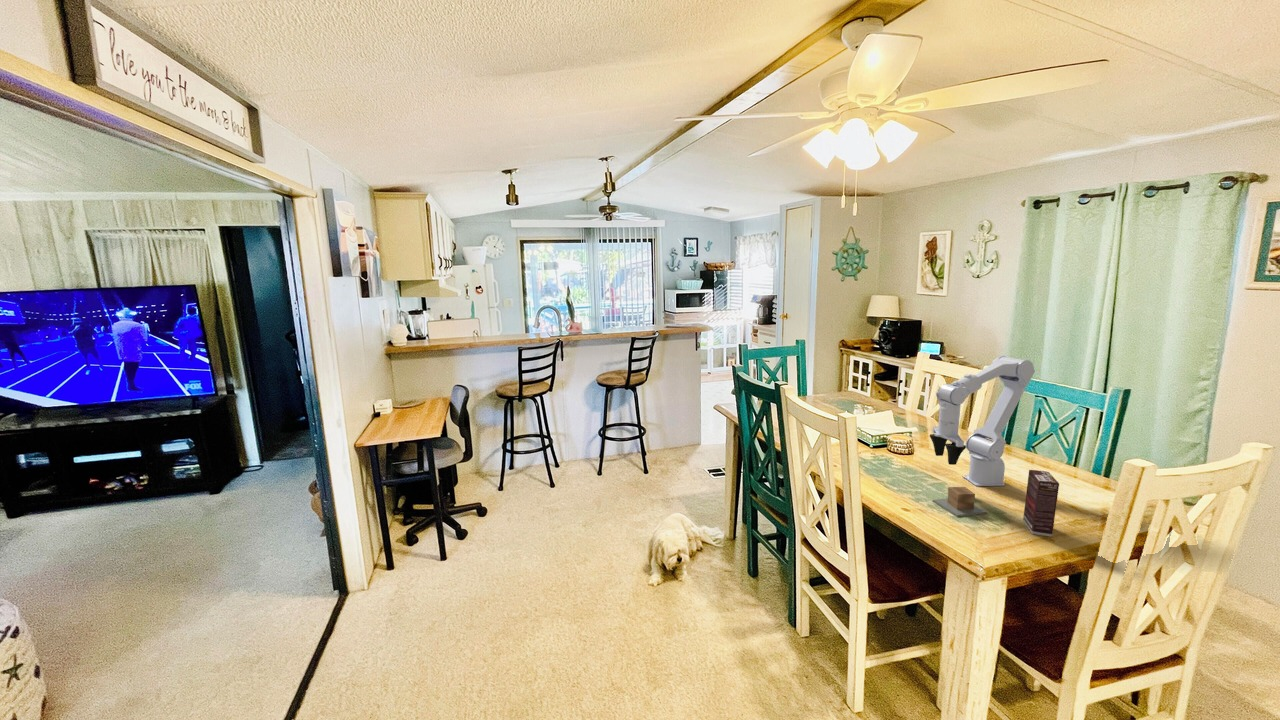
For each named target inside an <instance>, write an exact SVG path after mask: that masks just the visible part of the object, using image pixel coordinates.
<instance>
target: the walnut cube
mask: <svg viewBox="0 0 1280 720" xmlns="http://www.w3.org/2000/svg"><path fill="white" fill-rule="evenodd" d="M947 489H948V490H947V492H948V493H947V498H948V501H947V502H948V503H949V504H951V505H952V506H953V507H954V508H956V509H957V510H960V509H974V504H975V496H976V493H975V492H973V491H971V490H970V489H969V488H967V487H966V486H948V488H947Z"/></svg>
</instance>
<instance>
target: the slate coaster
mask: <svg viewBox="0 0 1280 720" xmlns="http://www.w3.org/2000/svg"><path fill="white" fill-rule="evenodd" d="M947 501H948V497H946V498H938V499H933V500H932V502H933V503H934V504H936V505H938V506H939V507H941V508H942V509H944V510H946V512H949V513H950V514H952V515H953V516H955V517H957V518H959V517H968V516H975V515H976V516H977V515H984V514H988V511H987V510H986V509H984V508H982V507H980V506H978V505H977V504H975V503H974V509H960V510H957V509H956V508H954V507H953V506H952V505H951V504H949V503H948V502H947Z"/></svg>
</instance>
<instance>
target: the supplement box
mask: <svg viewBox="0 0 1280 720" xmlns="http://www.w3.org/2000/svg"><path fill="white" fill-rule="evenodd" d="M1026 485H1027V487H1026V494H1025V503H1024V510H1023V518H1022V520H1023V522H1024V523H1025V525H1026V526H1027V528H1028V529H1029V531H1030V533H1031V534H1032V535H1036V536H1042V537H1043V536H1044V537H1051V538H1052V537H1053V532H1054V525H1055V524H1054V523H1055V519H1056V518H1055V517H1056V509H1057V502H1058V495H1059V488H1060V483H1059V481H1057V479H1056V478H1054V476H1053V475H1052V474H1051V473H1050V472H1049V471H1045V470H1038V469H1037V470H1036V469H1029V470H1028V478H1027V484H1026Z"/></svg>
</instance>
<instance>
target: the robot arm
mask: <svg viewBox="0 0 1280 720" xmlns="http://www.w3.org/2000/svg"><path fill="white" fill-rule="evenodd" d="M1035 372H1036V370H1035V367H1034V364H1033V362H1032V361H1031V360H1029V359H1020V358H1015V357H1009V356H1005V355H1001V356H1000V355H999V356H998V357H996V358H995V359H994V358H993V360H992V362H991V364H989V365H988V366H986V367H985V368H983V369H982V370H980V371H979V372H977V373H976V374H973V373H969V374H968V373H966V374H964V375H963V376H962V377H961V378H959V379H956V380H954V381H953V382H951V383H950V384H948V383H945V384H943V385H941V386H939V388H938V389H937V391H936V392H935V394H936V399H937V400H938V403H937V404H939V413H938V424H937V426H932V429H931V430H932V432H931V434H929V437H930V439H931V442H932V444H933V445H932V446H933V449H934V453H935V456H936V457H940V456H942V457H943V456H944V453H945V448H946V452H947V463H948V465H957V463H958V461H959V458H960V456H961V454H962V453H963V452H964V450H967V451H968V454H969V455H970V459H969V460H970V461H969V470H968V474H967V475H966V474H964V475H963V474H962V477H963V479H965V480H966V481H968V482H970V483H971V484H973V485H974V486H976V487H995V486H996V487H997V486H998V487H1001V486H1005V485H1006V484H1005V483H1004V478H1005V470H1006V469H1005V468H1006V467H1005V462H1004V460H1003V459H1002V456H1003V454H1004V449H1005V447H1006V444H1007V441H1006V440H1005V438H1004V437H1003V433H1004V431H1005V428H1006V426H1007V425H1008V422H1009V421H1010V419H1011V417H1012V415H1013V413H1014V412H1015V410H1016V408H1017V405H1018V403H1019V401H1020V400H1021V398H1022V396H1023V394H1024V392H1025V391H1026V388H1027V387H1028V386H1029V384H1030V382H1031V380H1032V378H1033V377H1034V376H1033V375H1035ZM996 378H999V380H1000V381H1001V382H1002V383H1003V385H1004V387H1003V390H1002V391H1001V393H1000V394H999V396H998V399H997V400H996V402H995V405H994V406H993V408H992V410H991V412H990V414H989V415H988V417H987V419H986V421H985V423H984V425H983V426H982V427H980V428H976V429H974V430H973V432H972V434H970V435H969V436H968V437H967V439H966V441H965V440H963V439H962V438H961V436H960V435H959V429H960V428H959V427H960V415H961V407H962V406H961V405H962V404H963V403H964V402H965V401H966V399H967V398H968V397H969V396H970V395H971V394H973V393H975V392H977V391H979V390H981V389H982V386H983V384H985V383H987V382H990V381H992V380H994V379H996ZM948 441H949V442H951V443H947V442H948Z"/></svg>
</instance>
